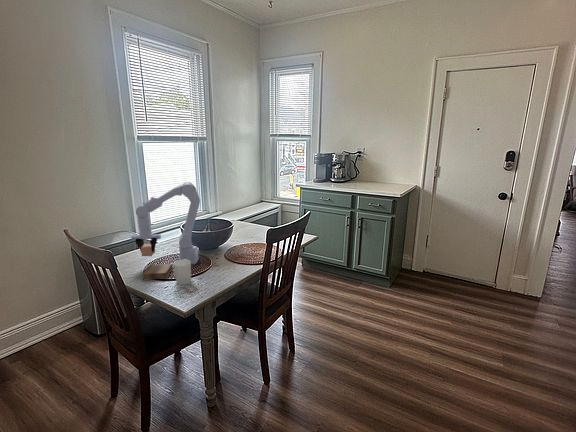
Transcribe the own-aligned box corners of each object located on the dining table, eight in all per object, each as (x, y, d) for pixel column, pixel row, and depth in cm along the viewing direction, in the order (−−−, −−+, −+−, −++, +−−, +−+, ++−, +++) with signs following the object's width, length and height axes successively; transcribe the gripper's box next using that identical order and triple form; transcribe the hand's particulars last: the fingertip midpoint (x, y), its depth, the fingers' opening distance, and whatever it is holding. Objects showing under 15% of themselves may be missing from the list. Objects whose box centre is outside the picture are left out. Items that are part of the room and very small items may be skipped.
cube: (154, 252, 172) (153, 243, 171) (151, 256, 167) (150, 247, 166) (145, 252, 172) (144, 244, 170) (141, 256, 167) (140, 247, 166)
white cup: (182, 287, 147) (180, 267, 145) (171, 283, 151) (169, 263, 149) (195, 280, 154) (194, 261, 151) (184, 276, 158) (182, 258, 155)
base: (172, 269, 167) (172, 263, 166) (166, 278, 156) (165, 272, 155) (151, 270, 166) (150, 264, 165) (143, 279, 155) (142, 273, 155)
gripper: (161, 224, 170) (164, 248, 173) (133, 225, 169) (137, 249, 172) (157, 228, 163) (160, 253, 167) (128, 229, 162) (131, 254, 166)
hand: (148, 251), depth 169 cm, fingers closed on cube, 5 cm apart
